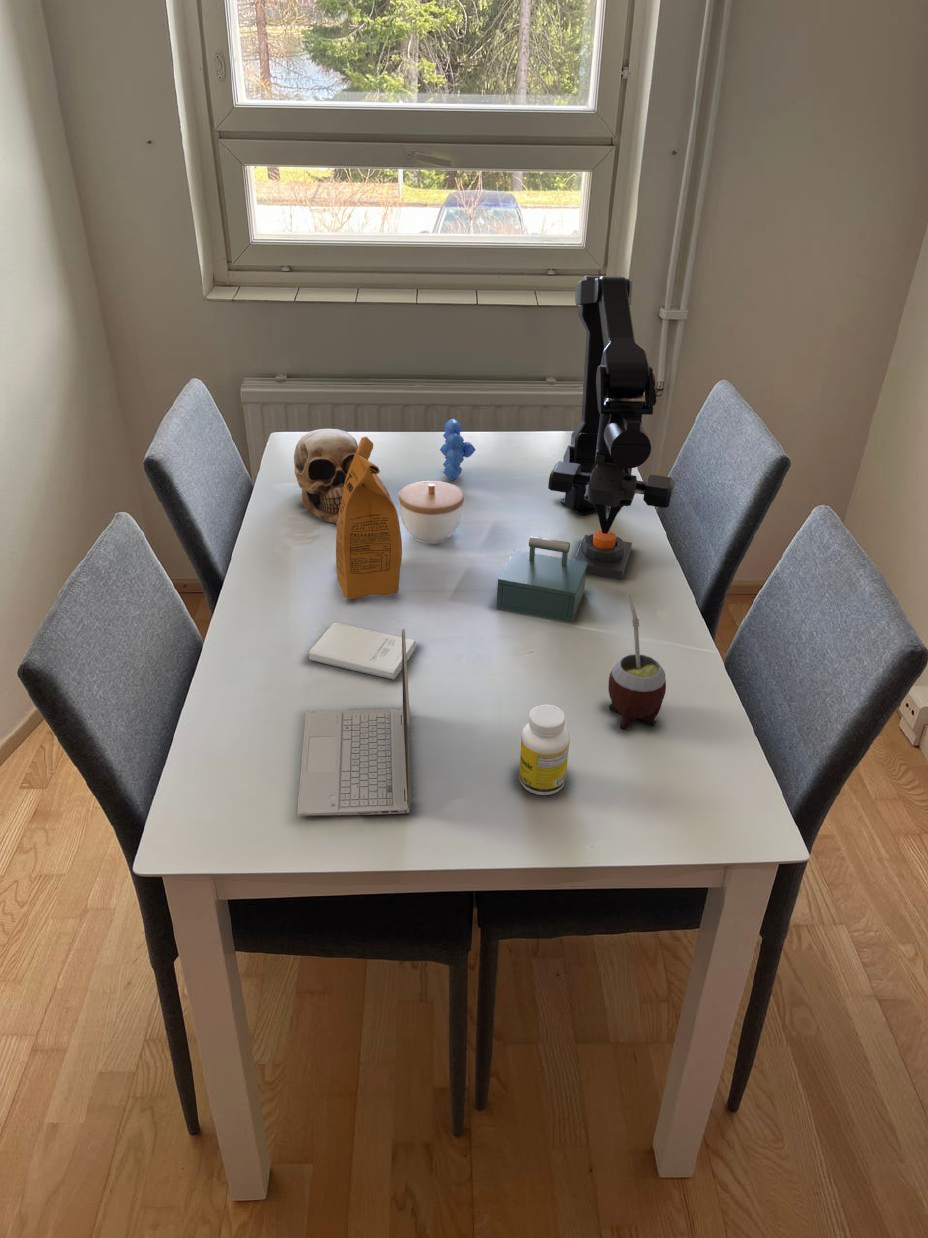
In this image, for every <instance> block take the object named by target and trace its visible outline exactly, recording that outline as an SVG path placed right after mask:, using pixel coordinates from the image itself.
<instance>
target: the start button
mask: <svg viewBox="0 0 928 1238" xmlns="http://www.w3.org/2000/svg"><path fill="white" fill-rule="evenodd" d="M593 534H594V536H593V546H595V547H597V548H601V549H612V548H614V547H615V543H616V536H617V535H616V533H615V532H614V531H611V530H609V531H608V533H607V534H604V533H602V530H601V529H599V530H596V531H594V532H593Z"/></svg>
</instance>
